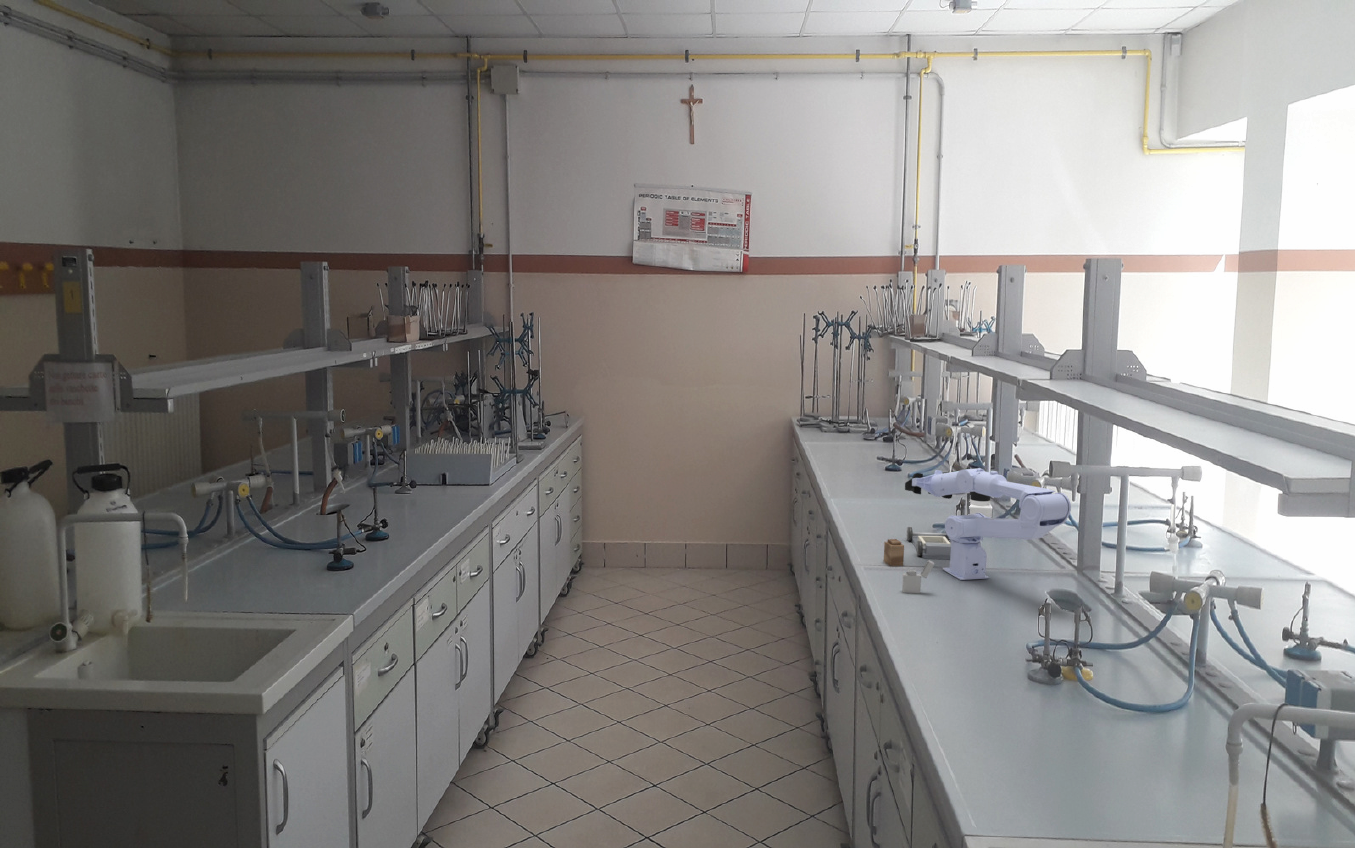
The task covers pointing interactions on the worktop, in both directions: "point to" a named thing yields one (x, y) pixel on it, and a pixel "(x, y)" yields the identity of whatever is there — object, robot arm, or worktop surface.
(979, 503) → the medicine bottle
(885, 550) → the brown wooden block
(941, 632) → the worktop surface
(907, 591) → the lighter
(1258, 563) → the worktop surface
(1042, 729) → the worktop surface
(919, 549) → the chassis
